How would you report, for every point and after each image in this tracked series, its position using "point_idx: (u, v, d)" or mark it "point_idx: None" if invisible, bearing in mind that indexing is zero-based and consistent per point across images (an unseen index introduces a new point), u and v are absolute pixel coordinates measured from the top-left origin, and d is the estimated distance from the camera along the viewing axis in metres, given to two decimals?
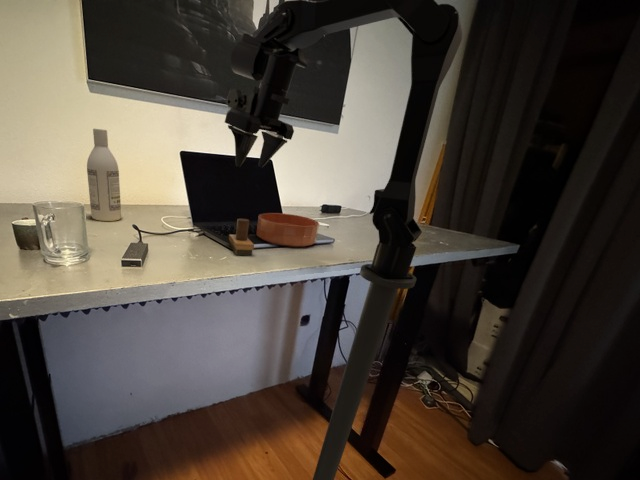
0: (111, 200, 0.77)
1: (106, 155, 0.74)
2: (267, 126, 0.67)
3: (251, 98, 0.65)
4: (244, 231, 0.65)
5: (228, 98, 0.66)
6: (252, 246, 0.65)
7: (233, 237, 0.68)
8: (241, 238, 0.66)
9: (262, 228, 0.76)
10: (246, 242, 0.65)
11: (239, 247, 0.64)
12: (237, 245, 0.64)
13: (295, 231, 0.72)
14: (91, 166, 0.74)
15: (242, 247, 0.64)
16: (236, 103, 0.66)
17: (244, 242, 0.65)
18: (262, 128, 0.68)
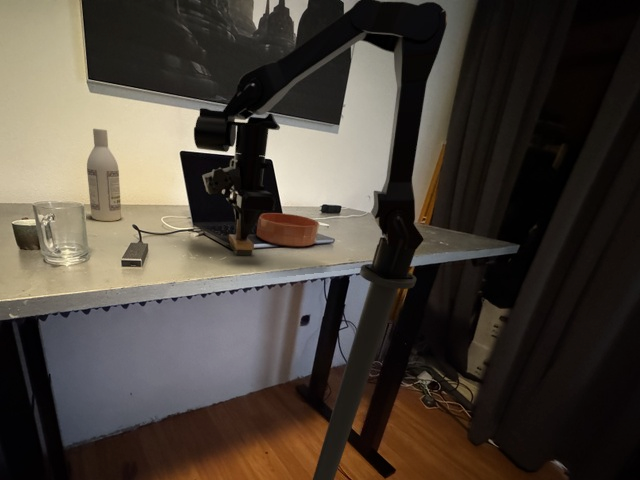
0: (111, 200, 0.77)
1: (106, 155, 0.74)
2: None
3: (237, 172, 0.59)
4: None
5: (214, 180, 0.57)
6: (252, 246, 0.65)
7: (233, 237, 0.68)
8: None
9: (262, 228, 0.76)
10: (246, 242, 0.65)
11: (239, 247, 0.64)
12: (237, 245, 0.64)
13: (295, 231, 0.72)
14: (91, 166, 0.74)
15: (242, 247, 0.64)
16: (227, 183, 0.58)
17: (244, 242, 0.65)
18: None
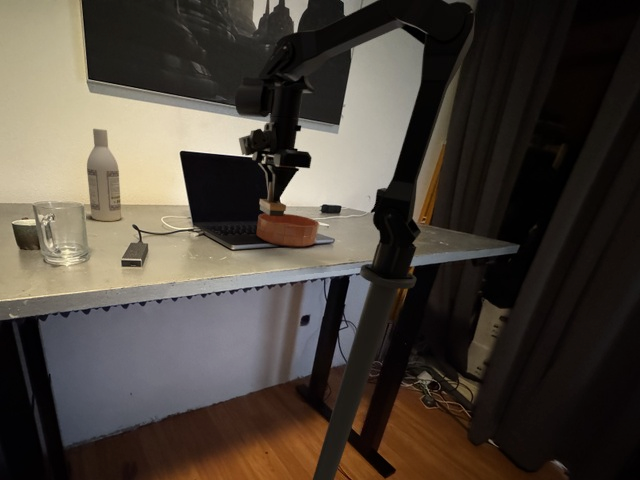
0: (111, 200, 0.77)
1: (106, 155, 0.74)
2: None
3: (274, 134, 0.62)
4: None
5: (253, 140, 0.60)
6: (284, 207, 0.68)
7: (264, 200, 0.71)
8: None
9: (262, 228, 0.76)
10: (278, 203, 0.69)
11: (272, 208, 0.68)
12: (270, 205, 0.67)
13: (295, 231, 0.72)
14: (91, 166, 0.74)
15: (275, 208, 0.68)
16: (265, 143, 0.61)
17: (276, 203, 0.69)
18: None
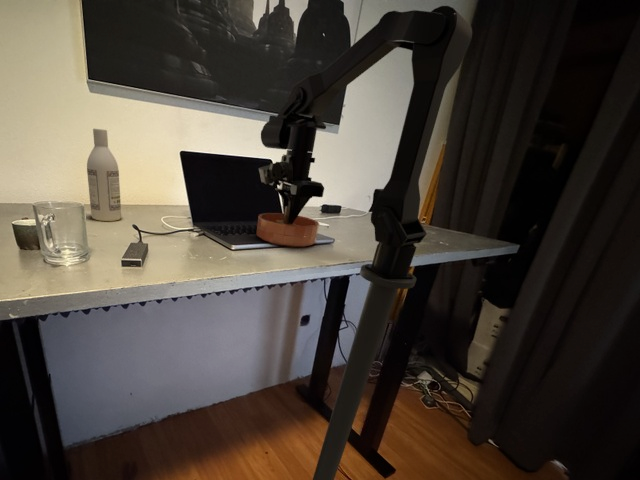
0: (111, 200, 0.77)
1: (106, 155, 0.74)
2: None
3: (290, 166, 0.70)
4: None
5: (273, 172, 0.68)
6: None
7: (280, 222, 0.79)
8: None
9: (262, 228, 0.76)
10: None
11: None
12: None
13: (295, 231, 0.72)
14: (91, 166, 0.74)
15: None
16: (283, 174, 0.69)
17: None
18: None
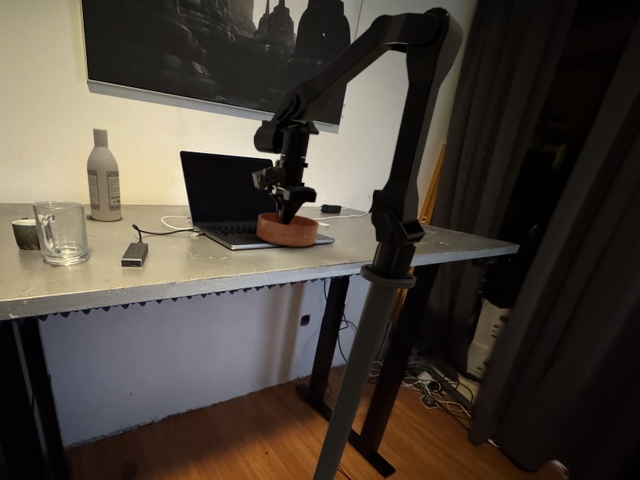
0: (111, 200, 0.77)
1: (106, 155, 0.74)
2: None
3: (283, 171, 0.70)
4: None
5: (266, 177, 0.69)
6: None
7: None
8: None
9: (262, 228, 0.76)
10: None
11: None
12: None
13: (295, 231, 0.72)
14: (91, 166, 0.74)
15: None
16: (276, 179, 0.69)
17: None
18: None
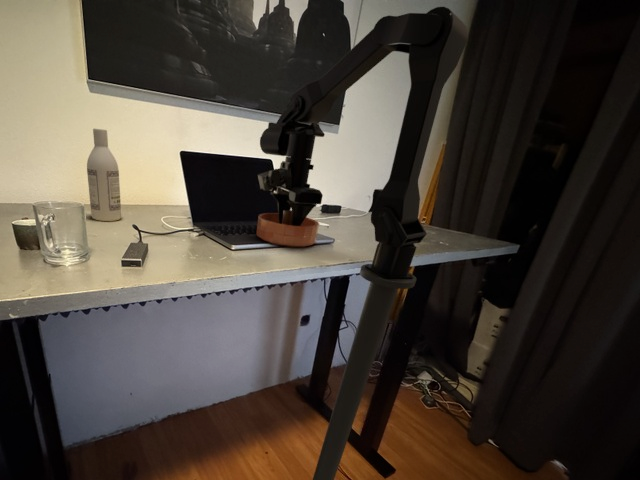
0: (111, 200, 0.77)
1: (106, 155, 0.74)
2: None
3: (289, 173, 0.71)
4: (289, 220, 0.77)
5: (272, 179, 0.69)
6: None
7: None
8: None
9: (262, 228, 0.76)
10: None
11: None
12: None
13: (295, 231, 0.72)
14: (91, 166, 0.74)
15: None
16: (281, 181, 0.70)
17: None
18: None
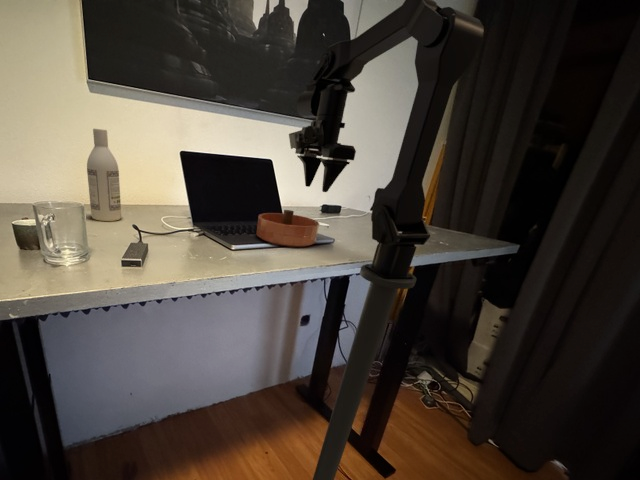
0: (111, 200, 0.77)
1: (106, 155, 0.74)
2: None
3: (321, 130, 0.71)
4: (289, 220, 0.77)
5: (305, 135, 0.69)
6: None
7: None
8: None
9: (262, 228, 0.76)
10: None
11: None
12: None
13: (295, 231, 0.72)
14: (91, 166, 0.74)
15: None
16: (314, 138, 0.70)
17: None
18: None
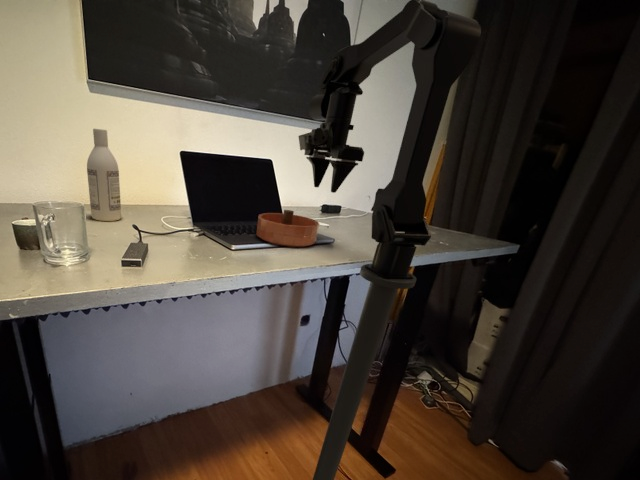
0: (111, 200, 0.77)
1: (106, 155, 0.74)
2: None
3: (330, 132, 0.73)
4: (289, 220, 0.77)
5: (314, 137, 0.71)
6: None
7: None
8: None
9: (262, 228, 0.76)
10: None
11: None
12: None
13: (295, 231, 0.72)
14: (91, 166, 0.74)
15: None
16: (323, 140, 0.72)
17: None
18: None
